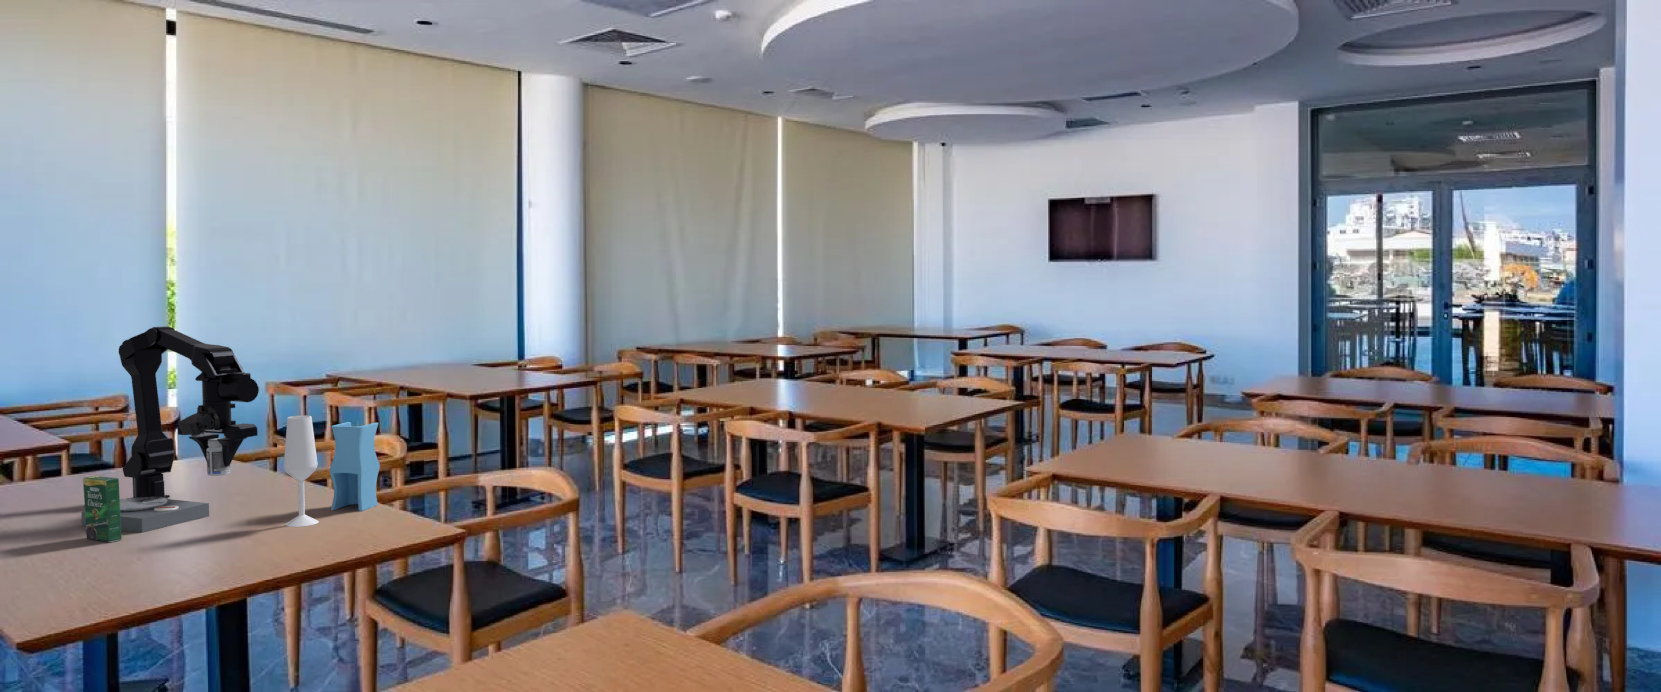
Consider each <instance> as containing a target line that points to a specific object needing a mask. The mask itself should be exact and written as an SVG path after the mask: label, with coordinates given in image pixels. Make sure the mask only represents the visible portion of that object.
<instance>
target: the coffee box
mask: <svg viewBox="0 0 1661 692" xmlns="http://www.w3.org/2000/svg"><path fill="white" fill-rule="evenodd" d="M119 479H120V478H119V477H108V476H101V475H100V476H99V475H93V476H86V477H83V478H82V484H83V499H84V511H85V518H86V526H85V531H86V539H88V540H94V541H95V540H96V541H101V542H104V543H113V542H118V541H120V540H122V530H121V517H120V500H121V498H120V480H119Z"/></svg>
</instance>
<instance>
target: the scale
mask: <svg viewBox="0 0 1661 692" xmlns="http://www.w3.org/2000/svg"><path fill="white" fill-rule="evenodd" d="M120 517H121V531H127V532H135V533H136V532H137V533H145V532H150V531H153V530H159V529H163V528H165V527H166V528H167V527H171V526H173V525H178V524H182V523H187V522H191V521H195V520H199V519H203V518H206V517H210V503H209V502H202V501H190V500H180V499H170V498H167V505H165V506H161V507H157V508H154V509H149V510H142V511H131V512H120ZM81 526H83V527H86V518H85V510H84V511H81Z"/></svg>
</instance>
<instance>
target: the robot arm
mask: <svg viewBox="0 0 1661 692" xmlns="http://www.w3.org/2000/svg"><path fill="white" fill-rule="evenodd" d="M167 351H171V352H174V353H176V354H178V355H180V356H182V357H184V358H187V359H188V360H190V362H191V365H192V366H193V367H194V368H195V369H198V370H199V371H200V372H201V373H199V374H198V375H197V376H196V377H195V378H194V379H195V381H196V382H201V390H202V391H201V392H202V393H201V394H202V395H201V396H202V397H201V398H202V399H201V400H202V404H200V405H199V404H198V405H197V408H196V409H197V412H195V413H193V414H191V415H189V416H187V417H185V418H183V419H181V420H179V421H178V426H177V435H178V436H188V438H189V439H190V440H192V441H193V442H196V444H198V446H199V447H200V450H201V452H202V454H203V457H204V458H205V461H206V462H207V452H206V450H207V448H209V446H208V440H210V439H216V438H219V436H220V434H221V435H223V437H221V439H217V441H218V442H219V443H220V444H221V445H222V452H223V462H224V466H229V465H230V466H231V464H232V462H233V460H234V457H235V455H236V454H237V451H238V449H239V448H240V446H241V445H242V444H243V442H244V440H246V439H247V438H251V437H257V436H258V432H259V431H258V426H257V425H256V424H254V423H237V421H236V420H233V419H232V409H235V408H236V403H232V402H237V403H238V402H239V403H251V402H253V401H255V400H256V398H257V397H258V396H259V391H260V387H259V386H258V383H257V382H256V380H254V378H252V377H251V373H250V372H245V371H244V368H243V366H242V365H241V364H240V363H239V362H240V361H239V360H238V358H237V357H236V355H235V353H234V351H233V349H232V348H230V347H229V346H224V345H220V344H212V343H211V344H208V343H205V342H203V341H200V340H198V339H196V338H194V337H192V336H190V335H187V334H184V333H182V332H180V331H178V330H175V328H174V327H171V326H153V327H151V328H149V329H147V330H145V331H144V332H141V333H140V334H138V335H134V336H132V337H129V338H128V339H125V340H123V341H122V343H121V344H120V345H119V347H118V355H119V358H120V362H121V367H123V368H124V370H125V371H126V372H127V373H128V374H129V375H130V378H131V385H132V387H131V388H132V395H133V403H134V410H135V421H136V427H137V428H136V429H137V435H136V438H135V439H134V441H133V442H132V445H131V453H130V454H131V456H130V458H128V460H127V462H126V463H125V464H124V465H123V467H122V471H123V476H124V477H125V478H132V497H131V498H137V497H165V498H167V499H169V498H170V497H171V495H170V494H165V480H164V474H165V473H171V472H172V468H173V464H174V461H175V455H176V450H175V446H174V445H175V444H174V443H175V442H174V439H173V438H172V437H167V436H166V434H165V433H164V431H163V427H162V418H161V409H160V408H161V407H160V401H159V393H158V392H159V391H158V383H157V373H158V370H159V368H160V366H161V365H162V362H163V354H164V353H166V352H167ZM190 435H191V436H190ZM129 498H130V497H129ZM129 498H126V499H129Z"/></svg>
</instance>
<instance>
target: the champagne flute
mask: <svg viewBox="0 0 1661 692" xmlns="http://www.w3.org/2000/svg"><path fill="white" fill-rule="evenodd" d="M285 432H286V433H285V446H284V456H283V457H284V458H283V469H284V471H285V472H286V473H287V474H288V475H289V476H290V477H291V478H293V479H294V480H296V481H298V484H297V486H298V489H297V490H298V515H297V516H296V517H294V518H292V519H290V520H289V521H288V522H286V523H285V524H284V526H286V527H290V528H297V527H298V528H299V527H309V526H313V525H317V524H318V523H320V522H319V520H317V519H315V518H313V517H311V516H308V515H307V514H306V510H305V509H306V506H305V504H306V503H305V501H306V500H305V498H306V497H305V480H306V479H308V478H310V476H311V475H312V474H314V472H315V471H316V470H317V467H318V458H317V456H318V455H317V450H316V441H315V433H314V425H313V418H312V416H311V415H292V416H287V421H286V431H285Z"/></svg>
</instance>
